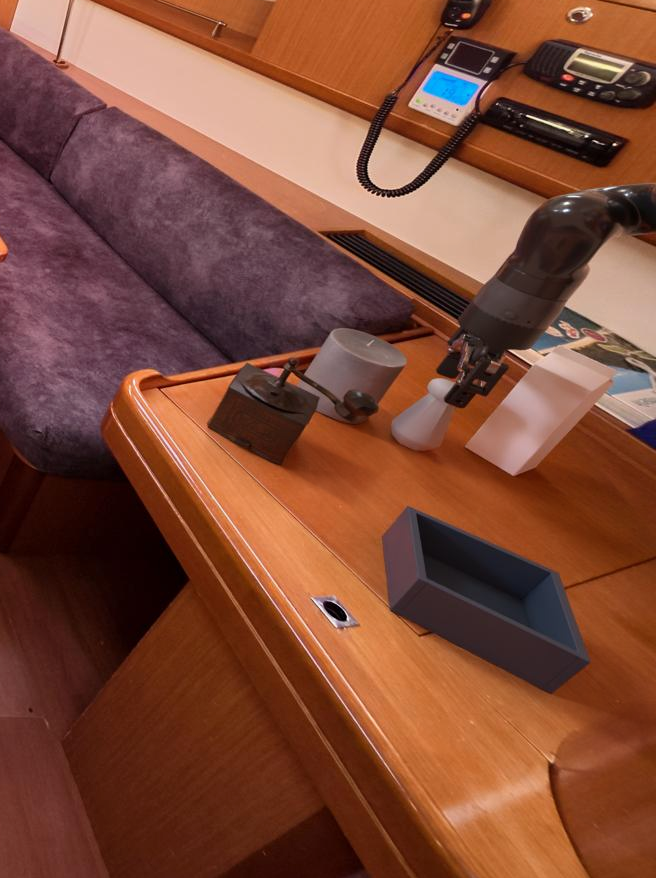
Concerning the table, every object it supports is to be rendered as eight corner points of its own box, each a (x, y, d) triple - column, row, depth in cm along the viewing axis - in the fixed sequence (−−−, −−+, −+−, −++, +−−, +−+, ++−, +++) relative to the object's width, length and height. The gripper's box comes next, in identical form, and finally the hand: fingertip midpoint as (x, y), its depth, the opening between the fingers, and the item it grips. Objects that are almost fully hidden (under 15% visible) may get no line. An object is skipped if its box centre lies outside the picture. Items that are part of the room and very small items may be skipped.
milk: (513, 477, 99) (607, 376, 89) (462, 446, 105) (546, 347, 94) (535, 467, 101) (630, 367, 91) (484, 438, 106) (569, 340, 96)
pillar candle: (333, 384, 117) (374, 322, 110) (382, 426, 108) (430, 362, 101) (280, 382, 117) (318, 320, 110) (325, 424, 108) (369, 359, 101)
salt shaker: (430, 461, 102) (476, 405, 96) (381, 438, 106) (424, 382, 100) (435, 444, 105) (481, 388, 99) (388, 422, 109) (430, 367, 103)
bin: (524, 604, 82) (559, 572, 79) (551, 694, 73) (591, 663, 70) (381, 536, 90) (407, 505, 87) (389, 610, 81) (418, 578, 78)
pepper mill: (203, 428, 107) (247, 348, 99) (223, 398, 113) (266, 321, 105) (321, 493, 96) (381, 410, 88) (336, 456, 102) (394, 376, 94)
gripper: (563, 346, 85) (492, 428, 93) (538, 299, 95) (474, 377, 102) (483, 321, 90) (420, 402, 97) (466, 279, 99) (410, 355, 107)
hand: (448, 389), depth 100 cm, fingers open, 8 cm apart
